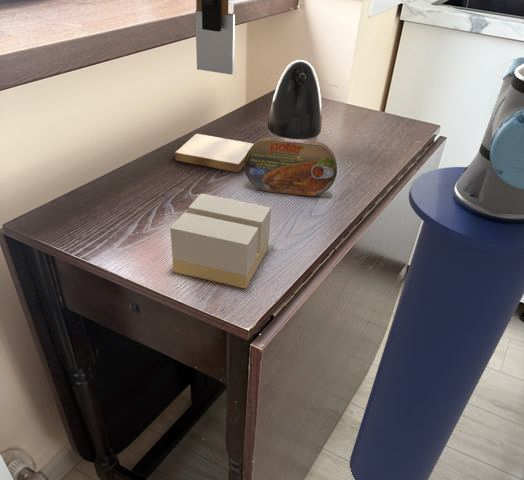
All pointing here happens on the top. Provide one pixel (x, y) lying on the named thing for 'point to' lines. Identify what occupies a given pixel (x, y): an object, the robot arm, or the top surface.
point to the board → (214, 152)
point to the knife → (216, 41)
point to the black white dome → (296, 104)
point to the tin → (290, 166)
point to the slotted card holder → (220, 240)
